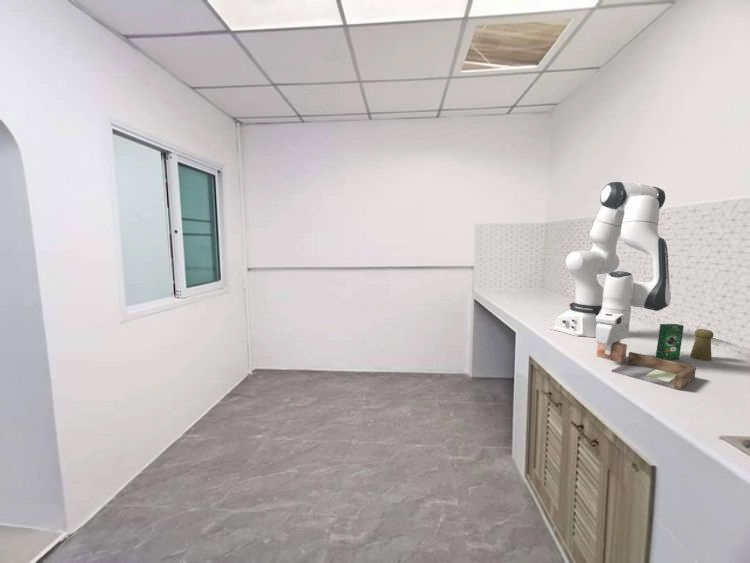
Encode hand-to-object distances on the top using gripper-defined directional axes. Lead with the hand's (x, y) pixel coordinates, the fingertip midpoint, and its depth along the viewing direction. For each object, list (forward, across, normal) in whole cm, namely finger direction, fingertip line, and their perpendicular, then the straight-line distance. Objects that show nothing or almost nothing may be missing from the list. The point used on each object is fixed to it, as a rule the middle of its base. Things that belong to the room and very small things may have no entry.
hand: (611, 352), depth 130 cm
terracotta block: (+2, 0, 0) cm, 2 cm away
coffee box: (+2, -19, +12) cm, 23 cm away
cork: (+2, -31, +19) cm, 36 cm away
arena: (+2, +7, +15) cm, 16 cm away
